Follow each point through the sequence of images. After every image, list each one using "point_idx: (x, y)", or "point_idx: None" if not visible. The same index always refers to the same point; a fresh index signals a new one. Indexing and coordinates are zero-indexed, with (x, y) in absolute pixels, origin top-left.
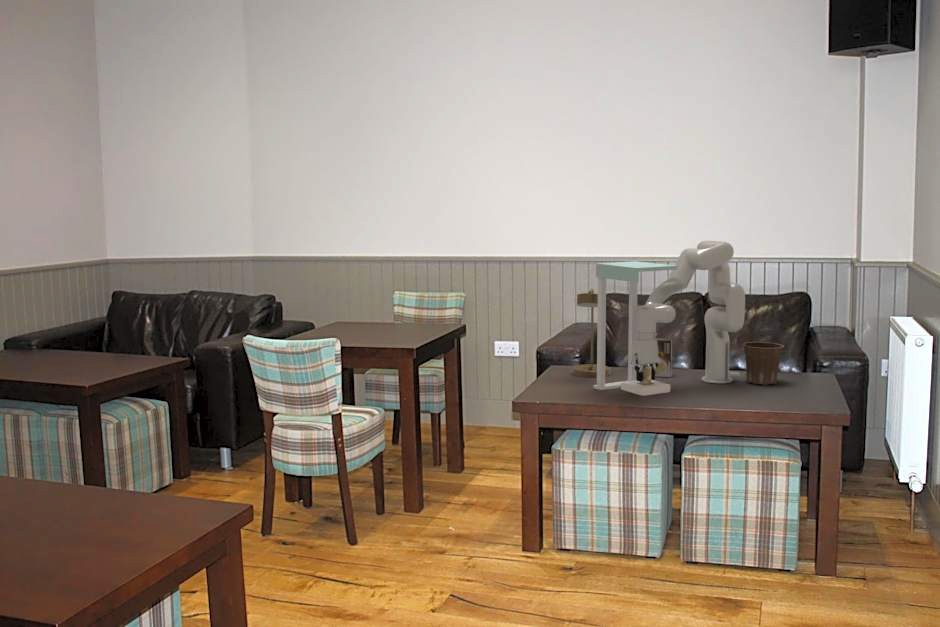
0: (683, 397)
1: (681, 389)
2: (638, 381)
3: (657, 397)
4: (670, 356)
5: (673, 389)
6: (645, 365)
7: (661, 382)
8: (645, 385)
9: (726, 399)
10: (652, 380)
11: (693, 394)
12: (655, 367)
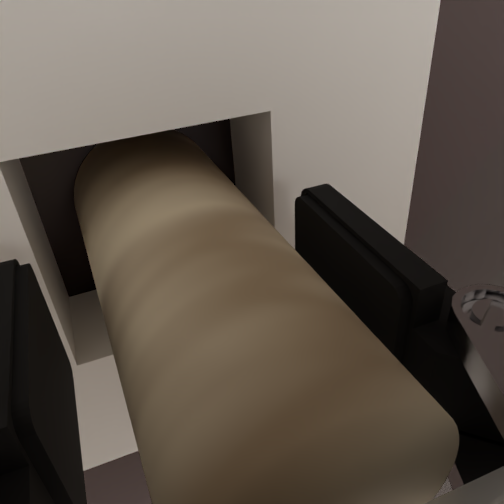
0: None
1: (491, 232)
2: (133, 36)
3: (106, 475)
4: None
5: (446, 214)
6: (400, 410)
7: (401, 237)
8: (92, 367)
9: (446, 492)
10: (408, 63)
11: None
12: (486, 447)
